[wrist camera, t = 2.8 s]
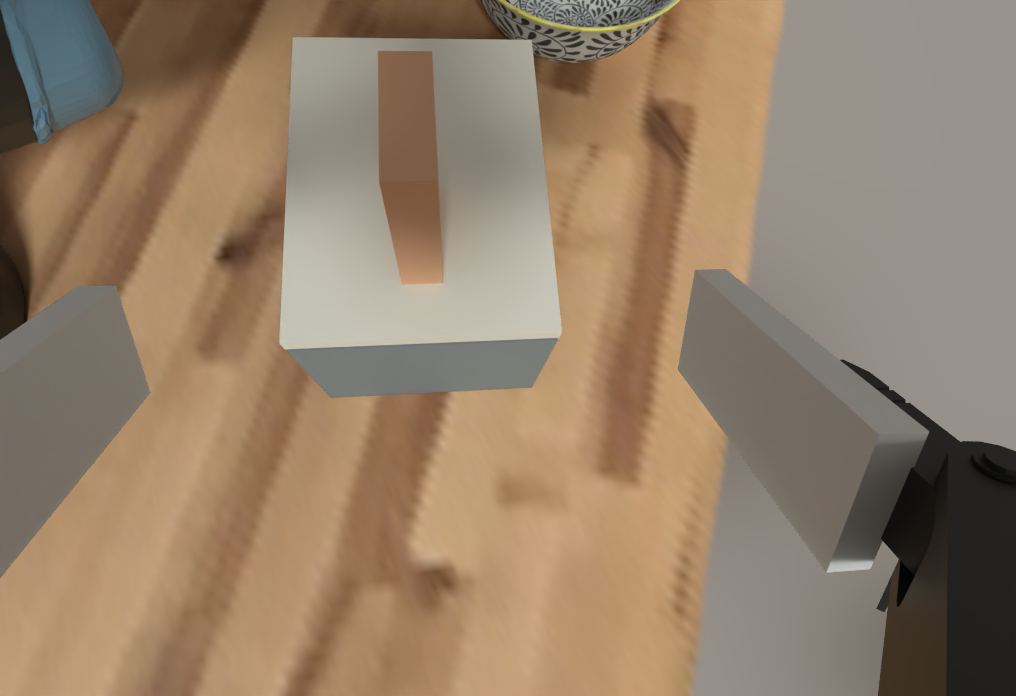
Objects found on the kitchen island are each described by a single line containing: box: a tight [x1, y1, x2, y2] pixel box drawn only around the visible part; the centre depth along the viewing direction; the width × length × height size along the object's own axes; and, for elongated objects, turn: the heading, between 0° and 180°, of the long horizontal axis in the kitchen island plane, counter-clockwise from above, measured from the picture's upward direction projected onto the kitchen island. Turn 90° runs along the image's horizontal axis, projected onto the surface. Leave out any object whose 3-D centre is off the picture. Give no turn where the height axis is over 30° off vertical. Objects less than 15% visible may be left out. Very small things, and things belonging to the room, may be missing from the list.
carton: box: [287, 338, 558, 398], centre depth 33 cm, size 16×12×10 cm
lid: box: [279, 37, 562, 349], centre depth 24 cm, size 16×12×9 cm
